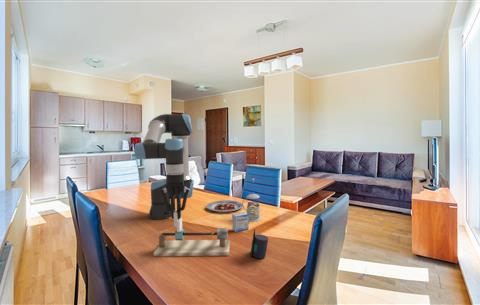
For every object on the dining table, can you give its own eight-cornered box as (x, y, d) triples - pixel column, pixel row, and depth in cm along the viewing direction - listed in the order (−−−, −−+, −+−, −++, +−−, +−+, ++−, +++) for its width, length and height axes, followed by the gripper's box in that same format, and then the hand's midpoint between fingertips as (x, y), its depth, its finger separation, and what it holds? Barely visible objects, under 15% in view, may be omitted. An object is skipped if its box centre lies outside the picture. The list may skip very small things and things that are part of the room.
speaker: (246, 256, 100) (248, 232, 99) (250, 251, 105) (253, 228, 105) (263, 262, 97) (266, 237, 96) (267, 256, 102) (270, 232, 102)
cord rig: (153, 256, 102) (152, 236, 101) (162, 243, 114) (162, 225, 113) (228, 255, 102) (228, 235, 101) (229, 242, 114) (229, 224, 113)
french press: (260, 222, 141) (260, 180, 139) (241, 220, 143) (240, 179, 141) (262, 216, 150) (262, 177, 148) (244, 215, 153) (243, 176, 151)
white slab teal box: (175, 240, 105) (174, 220, 105) (177, 236, 110) (177, 217, 109) (182, 240, 105) (181, 220, 105) (184, 236, 110) (183, 217, 109)
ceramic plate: (248, 212, 160) (248, 207, 160) (209, 216, 153) (209, 211, 152) (237, 201, 185) (237, 198, 184) (204, 204, 177) (204, 201, 177)
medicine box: (235, 232, 126) (235, 216, 125) (232, 229, 130) (231, 214, 129) (248, 229, 130) (248, 214, 129) (244, 226, 133) (244, 211, 133)
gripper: (157, 175, 102) (159, 229, 103) (187, 174, 102) (189, 228, 103) (163, 172, 109) (164, 222, 111) (191, 172, 109) (192, 222, 111)
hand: (176, 225), depth 107 cm, fingers closed
